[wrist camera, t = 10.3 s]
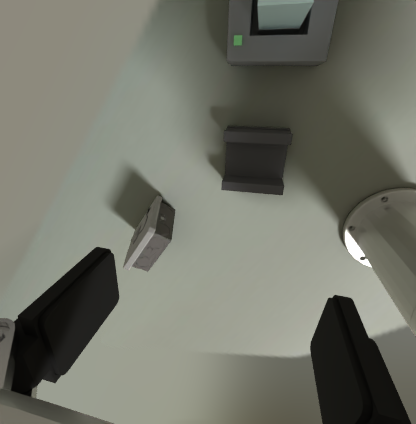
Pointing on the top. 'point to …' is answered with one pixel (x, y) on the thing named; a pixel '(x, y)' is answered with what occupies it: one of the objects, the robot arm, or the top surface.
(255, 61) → the port
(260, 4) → the plug
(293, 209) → the top surface
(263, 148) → the dark grey flanged block
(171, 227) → the electrical switch
